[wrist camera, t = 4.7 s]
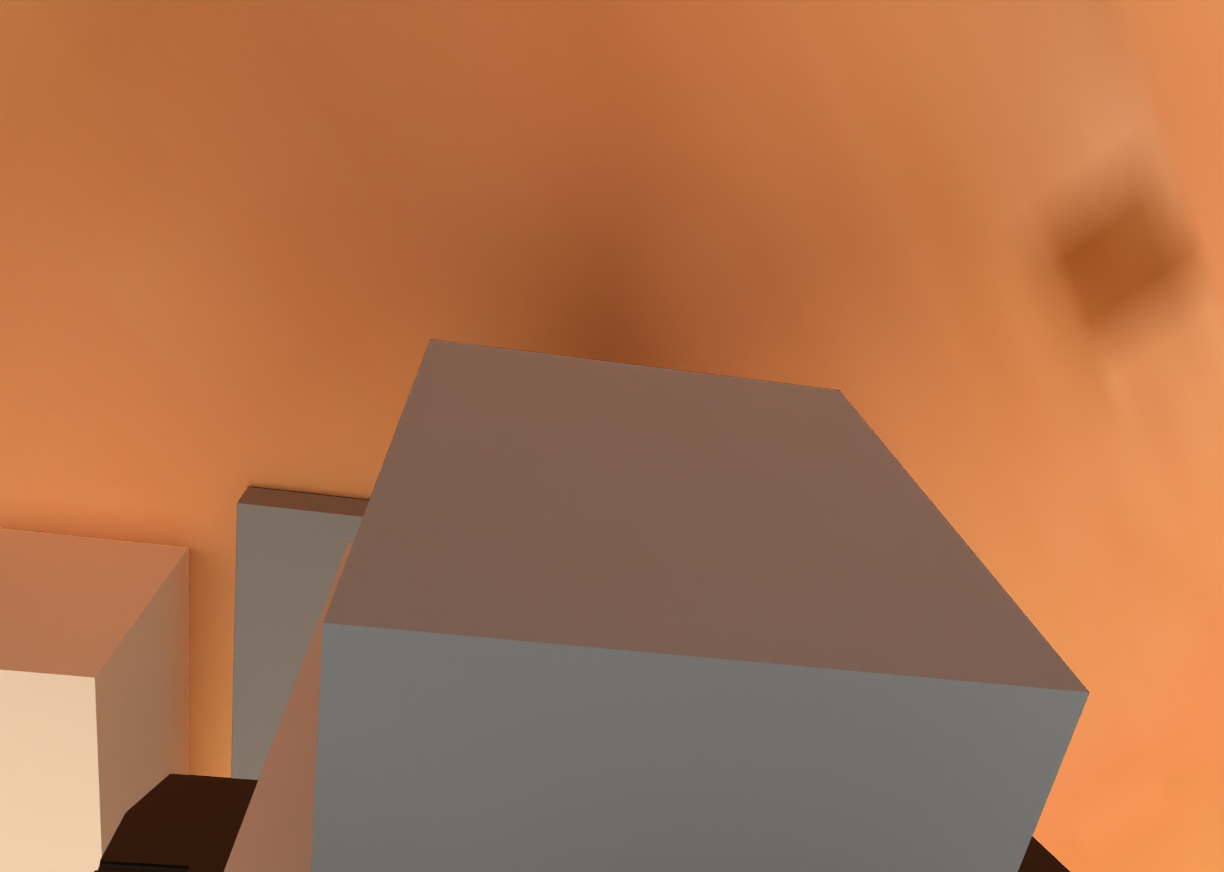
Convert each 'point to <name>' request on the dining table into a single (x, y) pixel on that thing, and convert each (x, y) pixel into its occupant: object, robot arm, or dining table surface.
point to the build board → (279, 604)
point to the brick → (86, 690)
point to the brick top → (668, 640)
